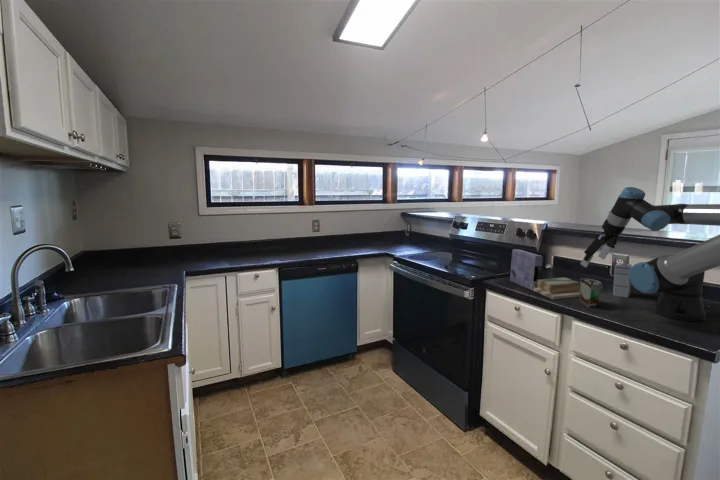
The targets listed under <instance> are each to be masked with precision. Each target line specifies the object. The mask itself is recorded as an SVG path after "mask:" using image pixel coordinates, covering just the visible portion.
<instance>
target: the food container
mask: <svg viewBox="0 0 720 480" xmlns="http://www.w3.org/2000/svg"><path fill="white" fill-rule="evenodd" d="M579 283H580V287H579V290H580V297H579V301H580V302H581V303H583V304H584V305H585V306H586V307H587V308H596V307H598V306H599V302H600V295H601V290H603V284H602V282H601V281H599V280H596V279H592V278H587V277H585V278H584V277H580V279H579Z"/></svg>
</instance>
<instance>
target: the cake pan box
mask: <svg viewBox="0 0 720 480" xmlns="http://www.w3.org/2000/svg"><path fill="white" fill-rule="evenodd" d="M510 261H511V263H510V276H509V282H511V283H514V284H516V285H518V286H521V287H523V288H525V289H529V290H531V291H534V290H533V287H537V280H538V279H543V275H544V269H543V261H544V256H543V255H539V254H536V253H533V252H529V251H526V250H523V249H518V248H517V249H516V248H513V249H512V252H511V260H510Z"/></svg>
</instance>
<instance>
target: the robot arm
mask: <svg viewBox="0 0 720 480" xmlns="http://www.w3.org/2000/svg"><path fill="white" fill-rule="evenodd" d="M620 192H621V193H620V194H619V195H618V197H617V199H616V201H615V203H614V205H613V206H612V208H611V210H609V211H608V213H609V214H608V215H607V216H606V219H605V220H604V221H603V223H602V225H601V229H602V230H603V232H601V233H598V234H597V236H596V237H595V239H594V240H593V241H592V242H590V244H589V246H588V247H587V248H586V250H584V252H583V253H584V254H585V255H584V257H583V259H582V260H581V262H580V263H579V264H580V265H581V266H582V267H584V268H588V266H589V264H590V262H591V261H592V259H593V258H594V254H595V253H596V252H598V250H599V249H600V248H601V247H602V249H601V251H600V252H599V254H598V255H597V257H599V258H600V259H602V260H606V258H607V255H608V254H609V252H611V251H612V250H611V249H615V247H616V245H617V243H618V240H619V236H620V235H621V234H622V233H623V232H624V231H625V229H626V227H628V224H629V222H630V221H631V220H632V219H633V220H634V221H636V222H637V223H639V224H641V225H642V226H643V227H644V228H646V229H648V230H650V231H653V232H658V231H661V230H663V229H665V228H666V227H667V226H668V225H698V226H699V225H700V226H716V227H717V226H718V227H720V203H709V204H708V203H707V204H705V203H703V204H702V203H699V204H698V203H695V204H693V203H691V204H688V203H675V204H660V205H659V204H658V205H657V204H656V205H653V204H651V202H648V201H646V200H645V197H646V192H644V190H642V189H641V188H637V187H634V186H633V187H632V186H627V187H624V188H623V190H622V191H620ZM717 267H720V234H717V235H715V236H713V237H711V238H709V239H707V240H704V241H702V242H699V243H697V244H695V245H693V246H691V247H688V248H686V249H684V250H681V251H680V252H679V251H678V252H677V253H674V254H661V255H660V256H658V257H655V258H654V259H651V260H649V261H648V260H647V261H640V262H637V263H635V264H633V265H632V268H631V269H630V274H629V277H630V281H631V283H630V284H631V285H632V286H633V287H634V288H635V290H636V291H639V292H641V293H643V294H651V295H653V294H658V293H659V296H658V298H657V299H656V301H655V303H654V305H653V311H654V313H656V314H658V315H660V316H663V317H665V318H669V319H673V320H678V321H684V322H685V321H686V322H700V321H701V322H702V321H705V320H706V318H707V317H706V316H707V312H706V311H705V306H704V302H703V298H702V296H703V286H704V280H705V272H706V271H709V270H713V269H714V268H717Z"/></svg>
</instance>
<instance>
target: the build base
mask: <svg viewBox="0 0 720 480" xmlns="http://www.w3.org/2000/svg"><path fill="white" fill-rule="evenodd" d="M532 291H534V292H536V293H538V294H540V295H542V296H544V297H547V298H549V299H551V300H562V299H572V298H575V299H576V298H580V281H577V280H573V279H570V278H568V277H563V276H562V277H550V278H542V279H538V280H537V287H533V290H532Z"/></svg>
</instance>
